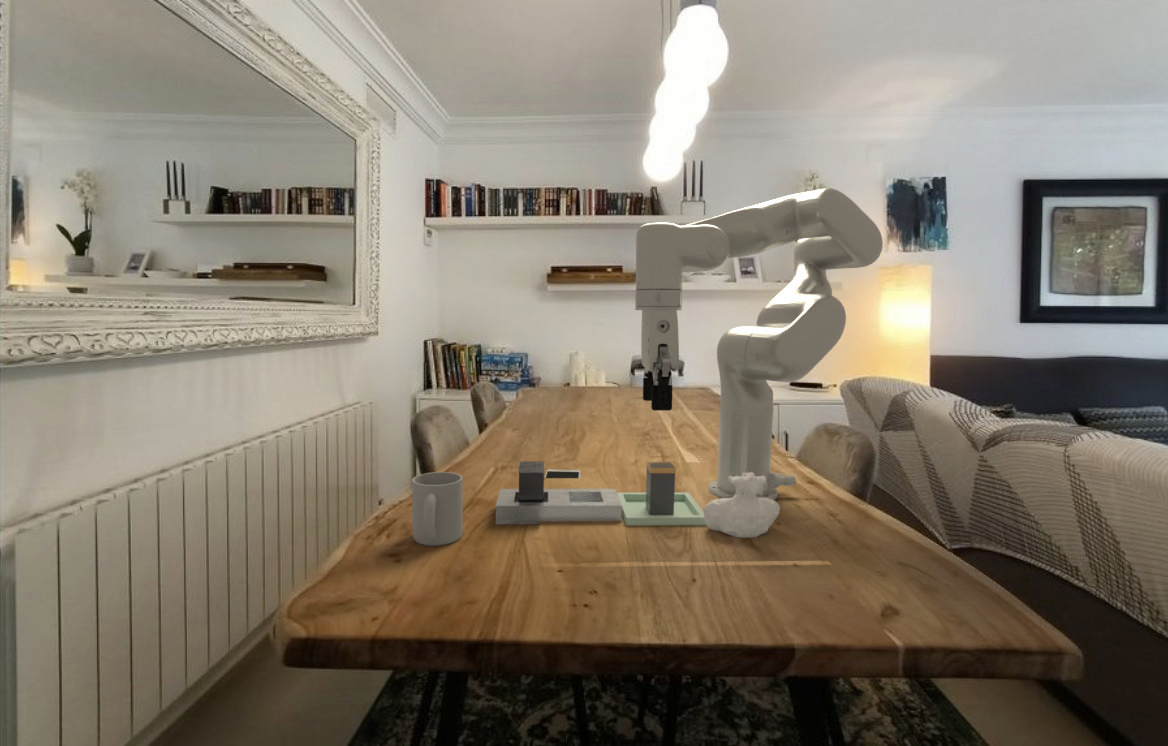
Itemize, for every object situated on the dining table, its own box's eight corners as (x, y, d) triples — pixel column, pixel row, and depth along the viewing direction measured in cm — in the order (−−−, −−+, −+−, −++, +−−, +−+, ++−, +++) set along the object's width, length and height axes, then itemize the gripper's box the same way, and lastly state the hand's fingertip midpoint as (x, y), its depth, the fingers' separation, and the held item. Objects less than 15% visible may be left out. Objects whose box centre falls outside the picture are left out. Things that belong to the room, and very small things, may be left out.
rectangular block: (668, 507, 102) (670, 461, 101) (674, 515, 98) (675, 467, 97) (645, 507, 101) (646, 461, 101) (649, 515, 97) (650, 467, 97)
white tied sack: (703, 550, 90) (721, 508, 82) (693, 507, 96) (709, 465, 88) (779, 548, 91) (803, 507, 84) (765, 506, 97) (786, 464, 89)
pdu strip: (614, 505, 104) (616, 458, 103) (621, 523, 95) (622, 471, 94) (500, 505, 102) (500, 457, 101) (495, 524, 93) (495, 471, 92)
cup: (466, 528, 91) (466, 472, 91) (454, 554, 82) (453, 491, 81) (419, 528, 91) (419, 471, 90) (401, 554, 81) (400, 491, 80)
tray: (688, 501, 106) (688, 492, 106) (707, 527, 94) (708, 517, 93) (616, 501, 106) (616, 492, 105) (626, 528, 93) (626, 517, 92)
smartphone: (539, 495, 110) (539, 490, 110) (546, 473, 125) (546, 468, 125) (578, 496, 110) (578, 491, 110) (580, 474, 125) (580, 469, 125)
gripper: (693, 301, 88) (690, 414, 90) (671, 302, 105) (669, 397, 107) (642, 300, 88) (641, 414, 89) (629, 301, 105) (628, 397, 107)
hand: (656, 405), depth 98 cm, fingers open, 9 cm apart
